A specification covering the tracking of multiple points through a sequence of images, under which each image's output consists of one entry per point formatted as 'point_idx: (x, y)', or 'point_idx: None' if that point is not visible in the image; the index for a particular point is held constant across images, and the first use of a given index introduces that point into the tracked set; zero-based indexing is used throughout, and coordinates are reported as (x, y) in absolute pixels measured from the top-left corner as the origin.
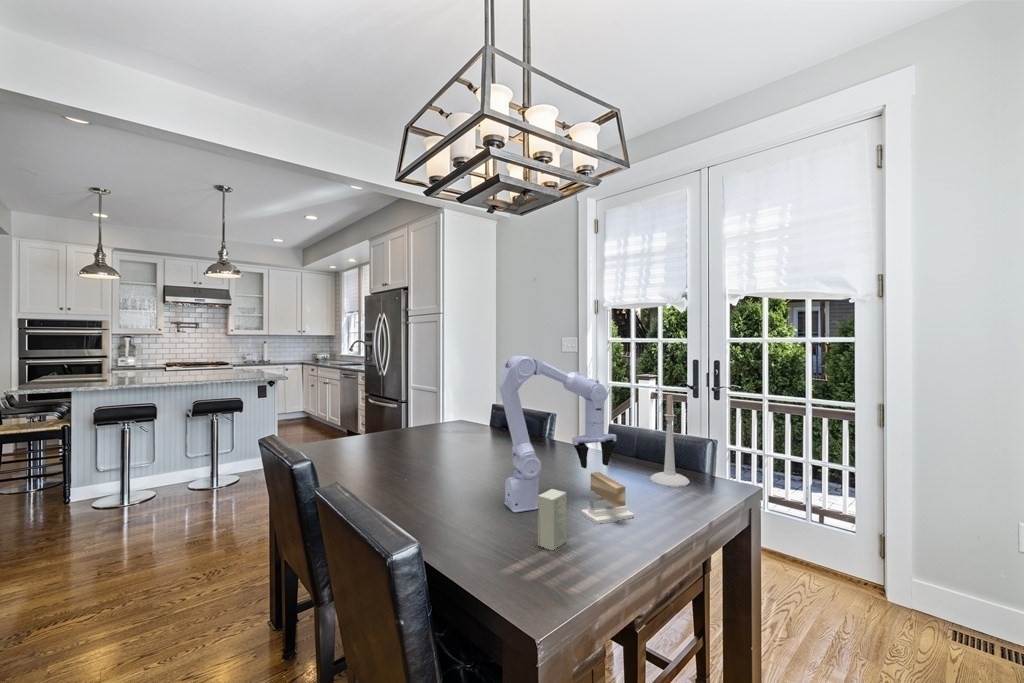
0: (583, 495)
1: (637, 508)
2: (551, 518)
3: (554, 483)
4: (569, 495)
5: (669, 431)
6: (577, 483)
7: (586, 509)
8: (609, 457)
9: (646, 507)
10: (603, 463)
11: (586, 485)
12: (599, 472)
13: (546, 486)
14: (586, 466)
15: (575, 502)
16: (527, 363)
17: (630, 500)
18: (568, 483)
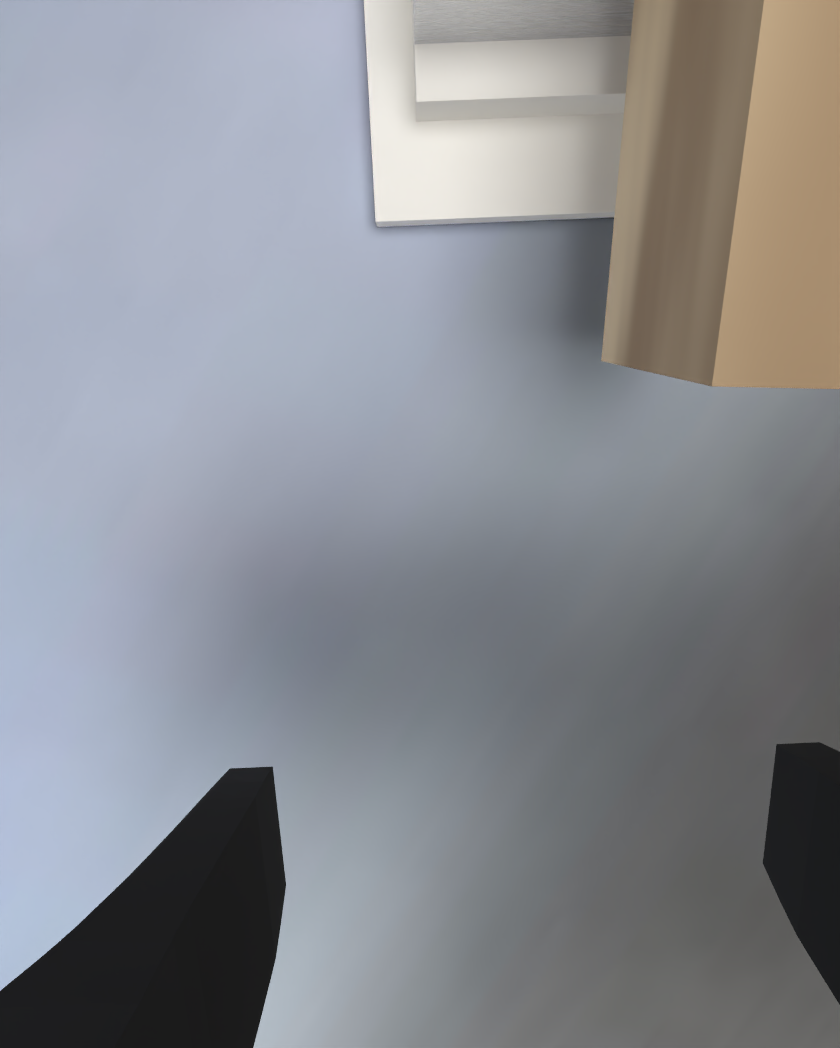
0: (531, 688)
1: (148, 117)
2: None
3: (619, 1041)
4: (667, 730)
5: None
6: (406, 986)
7: None
8: (138, 883)
9: (19, 107)
10: (279, 874)
11: (348, 918)
12: (729, 346)
13: (735, 996)
14: (807, 756)
15: (726, 536)
16: None
17: (103, 389)
18: (491, 1008)
